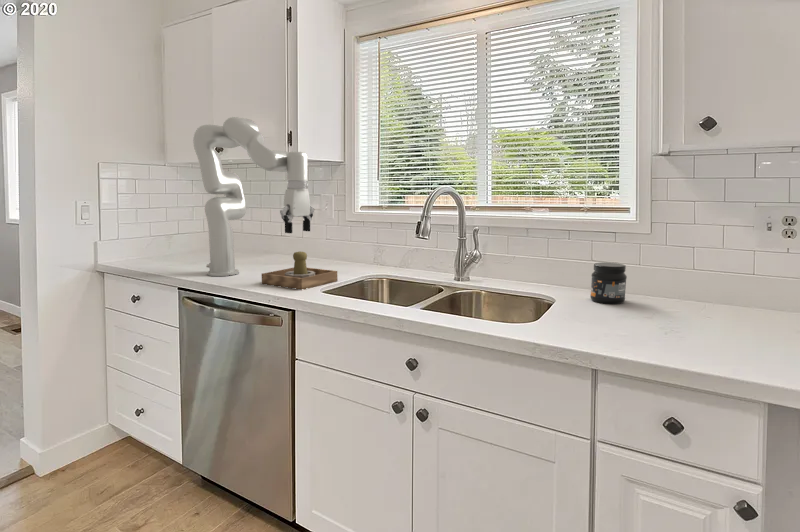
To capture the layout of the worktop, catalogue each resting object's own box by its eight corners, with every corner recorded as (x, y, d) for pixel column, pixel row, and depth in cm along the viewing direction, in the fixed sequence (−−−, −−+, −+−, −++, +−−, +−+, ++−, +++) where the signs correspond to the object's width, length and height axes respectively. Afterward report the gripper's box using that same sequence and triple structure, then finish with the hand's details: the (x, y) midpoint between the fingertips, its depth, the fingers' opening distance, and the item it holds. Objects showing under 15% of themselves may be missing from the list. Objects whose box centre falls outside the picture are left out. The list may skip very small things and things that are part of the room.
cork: (296, 278, 202) (296, 250, 200) (311, 279, 200) (310, 251, 198) (289, 281, 196) (288, 252, 194) (304, 282, 194) (303, 253, 193)
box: (261, 284, 195) (261, 273, 194) (298, 276, 211) (298, 266, 211) (302, 290, 184) (301, 278, 184) (337, 281, 201) (337, 271, 200)
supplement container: (590, 296, 175) (592, 261, 173) (624, 299, 171) (627, 263, 169) (589, 303, 165) (591, 265, 164) (625, 306, 162) (628, 268, 160)
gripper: (305, 185, 201) (305, 229, 204) (273, 185, 187) (273, 233, 190) (320, 186, 197) (320, 231, 200) (288, 186, 183) (288, 234, 186)
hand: (297, 232), depth 195 cm, fingers open, 9 cm apart
